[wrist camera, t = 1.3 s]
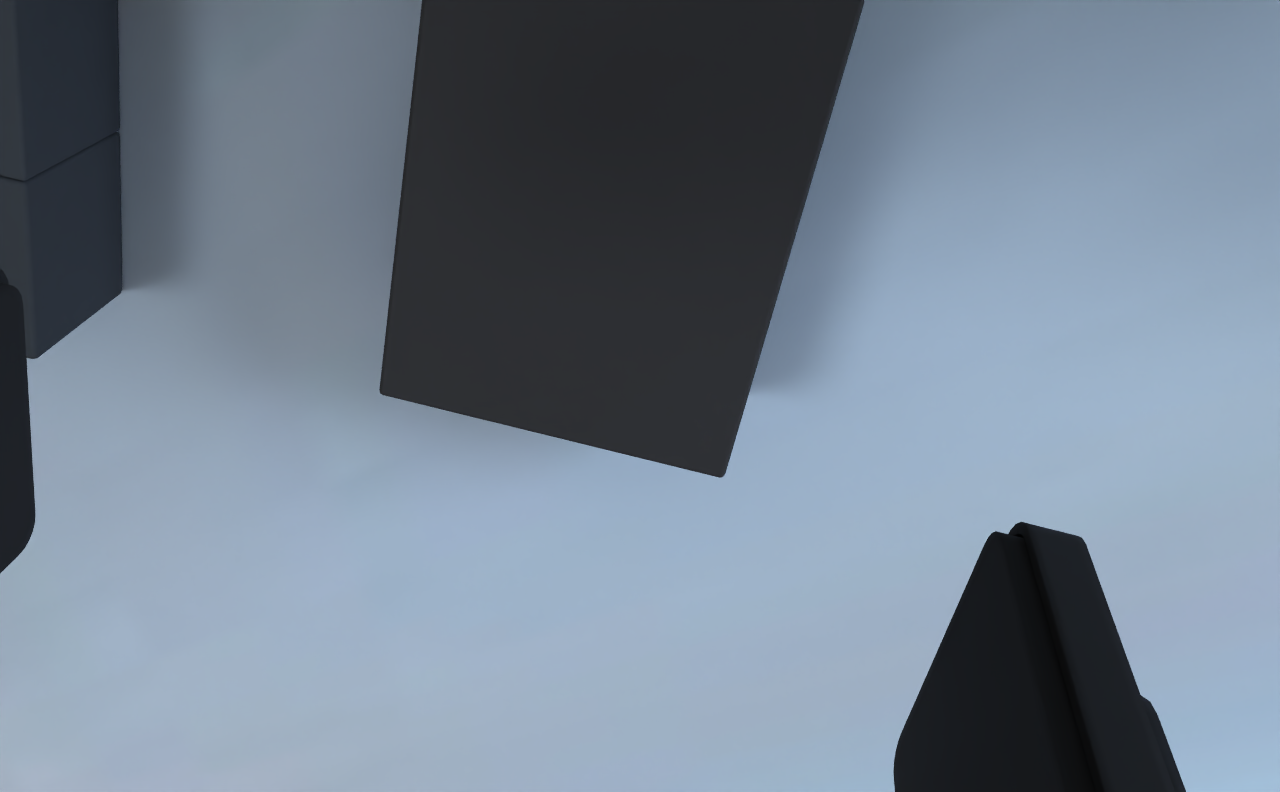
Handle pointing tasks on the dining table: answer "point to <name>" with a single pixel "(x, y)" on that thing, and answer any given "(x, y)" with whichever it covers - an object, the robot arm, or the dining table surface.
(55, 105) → the pad
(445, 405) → the pad
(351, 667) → the dining table surface
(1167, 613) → the dining table surface
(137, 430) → the dining table surface
